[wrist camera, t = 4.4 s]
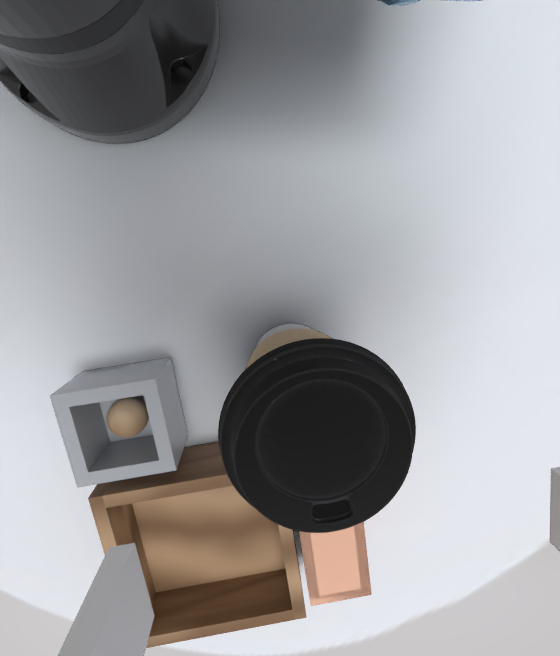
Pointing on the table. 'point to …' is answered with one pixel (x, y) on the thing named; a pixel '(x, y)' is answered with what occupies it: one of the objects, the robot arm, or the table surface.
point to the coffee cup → (316, 431)
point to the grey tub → (96, 438)
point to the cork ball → (127, 417)
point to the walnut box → (201, 549)
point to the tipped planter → (336, 564)
